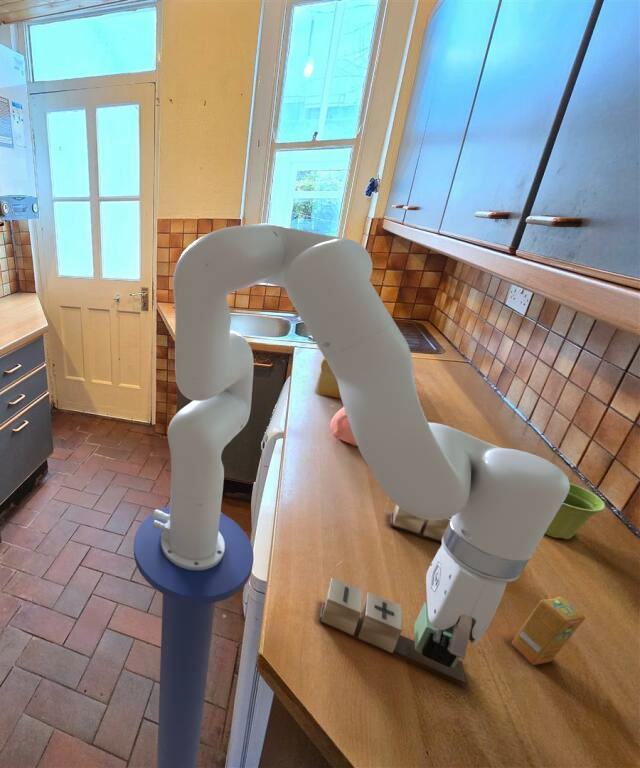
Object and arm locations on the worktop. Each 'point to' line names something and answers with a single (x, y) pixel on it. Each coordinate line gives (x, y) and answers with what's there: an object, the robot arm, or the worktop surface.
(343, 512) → the worktop surface
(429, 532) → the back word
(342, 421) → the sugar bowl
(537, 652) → the supplement box
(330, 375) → the bread
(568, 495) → the plant pot
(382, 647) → the front word
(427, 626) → the pale green cube
